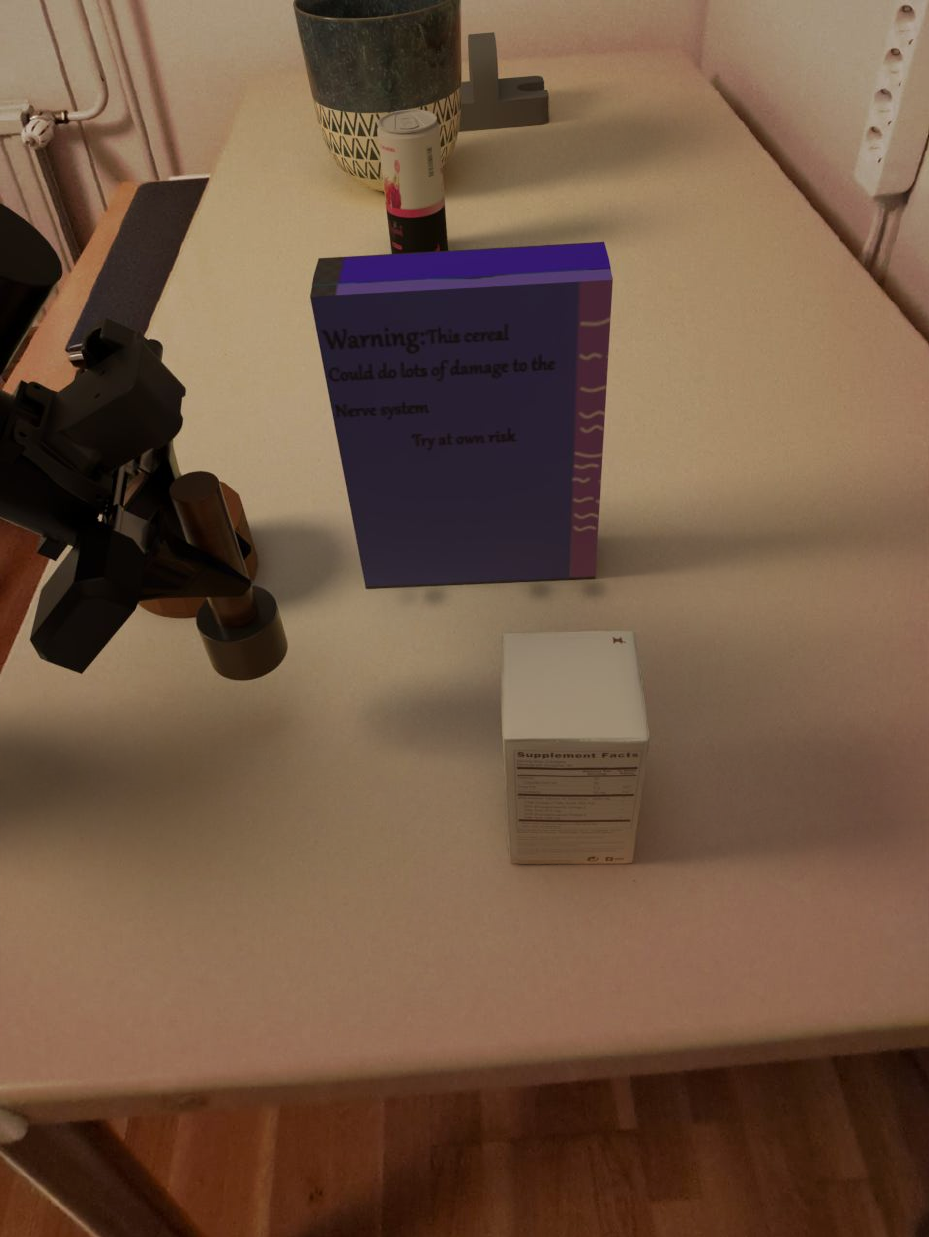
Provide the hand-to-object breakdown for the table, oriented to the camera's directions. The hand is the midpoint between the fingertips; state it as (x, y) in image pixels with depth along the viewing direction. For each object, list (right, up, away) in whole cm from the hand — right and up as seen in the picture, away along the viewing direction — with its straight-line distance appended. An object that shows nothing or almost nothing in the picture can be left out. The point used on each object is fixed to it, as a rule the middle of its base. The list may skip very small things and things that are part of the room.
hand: (247, 571), depth 54 cm
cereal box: (+14, +2, +19) cm, 24 cm away
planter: (+4, +55, +71) cm, 90 cm away
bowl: (-9, +1, +20) cm, 22 cm away
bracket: (+15, +72, +86) cm, 113 cm away
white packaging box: (+19, -15, +3) cm, 24 cm away
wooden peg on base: (-1, -5, +5) cm, 7 cm away
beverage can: (+7, +39, +55) cm, 68 cm away
